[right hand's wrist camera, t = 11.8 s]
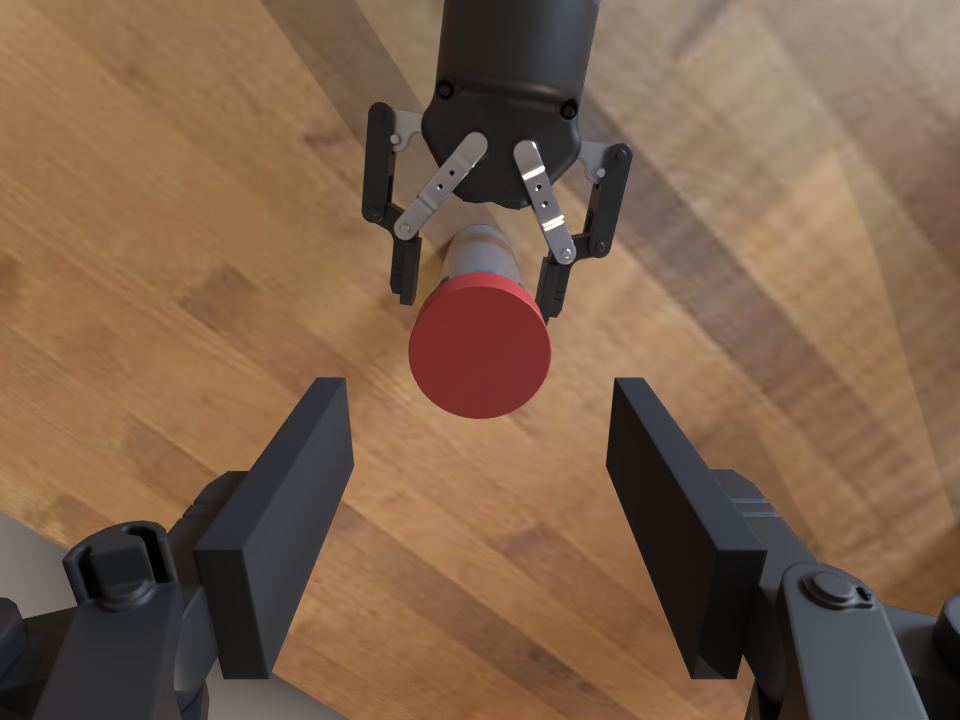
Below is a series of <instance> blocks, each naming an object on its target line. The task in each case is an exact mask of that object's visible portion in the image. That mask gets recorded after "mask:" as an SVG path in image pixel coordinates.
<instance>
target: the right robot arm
mask: <svg viewBox="0 0 960 720" xmlns="http://www.w3.org/2000/svg"><path fill="white" fill-rule="evenodd" d="M353 467H354V459H353V449H352V440H351V430H350V420H349V410H348V400H347V390H346V380H345V378H316V379H315V381H314V382H313V384H312V385H311V386H310V388H309V389H308V390H307V392H306V393H305V395H304V396H303V397H302V399H301V400H300V401H299V403H298V404H297V406H296V407H295V408H294V410H293V411H292V413H291V414H290V415H289V417H288V418H287V419H286V421H285V422H284V424H283V425H282V426H281V428H280V429H279V430H278V432H277V433H276V435H275V436H274V437H273V439H272V440H271V442H270V443H269V444H268V446H267V447H266V448H265V450H264V451H263V453H262V454H261V455H260V457H259V458H258V459H257V461H256V462H255V464H254V465H253V466H252V468H251V469H250V471H228V472H226V473H225V474H223V475H222V476H220V477H219V478H217V479H216V480H214V481H213V482H211V483H210V484H208V485H207V486H206V487H205V488H204V489H203V491H202V492H201V493H200V494H199V496H198V497H197V498H196V499H195V500H194V504H193V505H190V507H189V508H188V509H187V510H186V511H185V513H184V514H183V517H182V519H179V520H178V521H177V522H176V524H175V525H174V526H173V527H172V529H171V530H170V531H169V532H168V533H166V529H165V528H164V527H162V526H161V525H160V524H158V523H156V522H150V521H144V520H143V521H133V522H125V523H121V524H118V525H115V526H111V527H108V528H105V529H103V530H101V531H99V532H97V533H95V534H93V535H91V536H88V537H87V538H85V539H84V540H83V541H81V542H80V543H79V544H77V545H76V546H74V547H73V548H72V549H71V550H70V551H69V553H68V554H67V555H66V556H65V558H64V559H63V560H62V563H63V566H64V569H65V571H66V574H67V577H68V580H69V582H70V585H71V588H72V591H73V593H74V596H75V599H76V602H77V605H78V606H76V607H72V608H69V609H64V610H60V611H56V612H51V613H47V614H43V615H38V616H34V617H30V618H25V619H22V617H21V614H20V612H19V609H18V607H17V605H16V603H14V602H12V601H11V600H10V599H8V598H0V720H207V719H208V708H209V694H208V688H207V684H206V680H205V679H206V677H207V675H208V673H209V671H210V669H211V667H212V665H213V663H214V662H215V659H216V658H217V656H218V658H219V662H220V666H221V670H222V674H223V678H224V679H269V677H270V674H271V672H272V669H273V667H274V664H275V662H276V659H277V657H278V654H279V652H280V649H281V647H282V644H283V642H284V639H285V637H286V634H287V632H288V630H289V627H290V625H291V622H292V620H293V617H294V615H295V612H296V610H297V607H298V605H299V602H300V600H301V597H302V595H303V592H304V590H305V587H306V585H307V582H308V580H309V577H310V575H311V572H312V570H313V567H314V565H315V562H316V560H317V557H318V555H319V552H320V550H321V547H322V545H323V542H324V540H325V537H326V535H327V532H328V530H329V527H330V525H331V522H332V520H333V517H334V515H335V512H336V510H337V507H338V505H339V502H340V500H341V497H342V495H343V492H344V490H345V487H346V485H347V482H348V480H349V477H350V475H351V472H352V470H353ZM606 467H607V470H608V472H609V475H610V477H611V480H612V482H613V485H614V487H615V490H616V492H617V495H618V497H619V500H620V502H621V505H622V507H623V510H624V512H625V515H626V517H627V520H628V522H629V525H630V527H631V530H632V532H633V535H634V537H635V540H636V542H637V545H638V547H639V550H640V552H641V555H642V557H643V560H644V562H645V565H646V567H647V570H648V572H649V575H650V577H651V580H652V582H653V585H654V587H655V590H656V592H657V595H658V597H659V600H660V602H661V605H662V607H663V610H664V612H665V615H666V617H667V620H668V622H669V625H670V627H671V630H672V632H673V634H674V637H675V639H676V642H677V644H678V647H679V649H680V652H681V654H682V657H683V659H684V662H685V664H686V667H687V669H688V672H689V674H690V677H691V679H736V678H737V674H738V670H739V666H740V662H741V658H742V654H743V655H744V657H745V659H746V661H747V663H748V665H749V666H750V668H751V670H752V672H753V674H754V676H755V680H754V684H753V688H752V692H751V695H750V699H749V703H748V707H747V711H746V714H745V718H744V720H960V595H957V596H953V597H951V598H950V599H948V600H947V601H945V602H944V605H943V607H942V609H941V612H940V614H939V617H936V616H932V615H927V614H923V613H919V612H914V611H910V610H906V609H901V608H897V607H893V606H889V605H885V604H882V603H881V602H880V600H879V599H878V597H877V596H876V594H875V593H874V592H873V591H872V590H871V589H870V588H869V587H868V586H866V585H865V584H864V583H863V582H862V581H860V580H859V579H858V578H856V577H854V576H852V575H850V574H848V573H847V572H845V571H843V570H841V569H838V568H835V567H832V566H829V565H826V564H823V563H819V562H818V561H817V560H816V559H815V558H814V556H813V555H812V554H811V553H810V552H809V550H808V549H807V548H806V547H805V545H804V544H803V543H802V542H801V541H800V539H799V538H798V537H797V536H796V535H795V533H794V532H793V531H792V530H791V529H790V527H789V526H788V525H787V524H786V522H785V521H784V520H783V519H782V518H781V517H778V513H777V512H776V510H775V509H774V508H773V507H772V505H771V504H770V503H767V499H766V498H765V497H764V496H763V495H762V493H761V492H760V491H759V490H758V489H757V487H756V486H755V485H754V484H753V483H752V482H750V481H749V480H747V479H746V478H744V477H743V476H741V475H740V474H738V473H737V472H735V471H734V470H710V469H709V468H708V466H707V465H706V464H705V462H704V461H703V459H702V458H701V457H700V455H699V454H698V453H697V451H696V450H695V448H694V447H693V446H692V444H691V443H690V442H689V440H688V439H687V437H686V436H685V435H684V433H683V432H682V430H681V429H680V428H679V426H678V425H677V424H676V422H675V421H674V419H673V418H672V417H671V415H670V414H669V413H668V411H667V410H666V408H665V407H664V406H663V404H662V403H661V401H660V400H659V399H658V397H657V396H656V395H655V393H654V392H653V390H652V389H651V388H650V386H649V385H648V384H647V382H646V381H645V379H644V378H615V380H614V390H613V400H612V410H611V420H610V430H609V439H608V449H607V459H606Z"/></svg>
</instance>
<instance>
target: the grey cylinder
mask: <svg viewBox="0 0 960 720" xmlns="http://www.w3.org/2000/svg"><path fill="white" fill-rule="evenodd" d="M473 272H487V273H494V274H498V275H501V276H504V277H506V278H509V279H511V280H513V281H514V282H516V283H518V284H519V285H520V286H521V287H523V288H524V289H525V290H526V288H525V285H524V282H523V279H522V276H521V273H520V270H519V267H518V264H517V261H516V258H515V255H514V252H513V249H512V247H511V244H510V242H509V240H508V239H507V237H506V236H505V235H504V234H503V233H502V232H501V231H499V230H498V229H496V228H494V227H492V226H488V225H483V224H477V225H472V226H468V227H466V228H464V229H462V230H461V231H459V232H458V233H457V234H456V235H455V236H454V237H453V239H452V240H451V242H450V244H449V247H448V249H447V252H446V255H445V258H444V261H443V264H442V267H441V270H440V273H439V276H438V279H437V282H436V285H435V288H434V290H435V289H436V288H437V287H438V286H440V285H441V284H442V283H444V282H446V281H447V280H449V279H451V278H454V277H456V276H458V275H462V274H466V273H473Z"/></svg>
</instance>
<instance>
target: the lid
mask: <svg viewBox="0 0 960 720" xmlns="http://www.w3.org/2000/svg"><path fill="white" fill-rule="evenodd" d="M550 361H551V342H550V338H549V334H548V331H547V328H546V325H545V323H544V320H543V318H542V315H541V312H540V310H539V308H538V306H537V304H536V302H535V301H534V299H533V298H532V297H531V295H530V294H529V293H528V292H527V291H526V290H525V289H524V288H523V287H521V286H520V285H519V284H518V283H516V282H514V281H513V280H511V279H509V278H506V277H504V276H501V275H498V274H494V273H487V272H473V273H466V274H462V275H458V276H456V277H454V278H451V279H449V280H447V281H446V282H444V283H442V284H441V285H440V286H438V287H437V288H436V289H435V290H434V291H433V292H432V293H431V294H430V295H429V296H428V298H427V299H426V300H425V302H424V304H423V306H422V307H421V310H420V312H419V315H418V317H417V320H416V323H415V325H414V328H413V331H412V333H411V337H410V342H409V362H410V367H411V371H412V373H413V376H414V378H415V380H416V382H417V384H418V386H419V387H420V389H421V390H422V392H423V393H424V394H425V395H426V396H427V397H428V398H429V399H430V400H431V401H432V402H433V403H435V404H436V405H437V406H439V407H440V408H442V409H444V410H446V411H448V412H450V413H452V414H455V415H458V416H461V417H466V418H473V419H487V418H494V417H498V416H502V415H505V414H508V413H510V412H512V411H514V410H516V409H518V408H520V407H521V406H523V405H524V404H525V403H527V402H528V401H529V400H530V399H531V398H532V397H533V396H534V395H535V394H536V393H537V391H538V390H539V389H540V387H541V386H542V384H543V382H544V380H545V378H546V376H547V373H548V370H549V367H550Z"/></svg>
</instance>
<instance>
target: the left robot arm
mask: <svg viewBox="0 0 960 720" xmlns="http://www.w3.org/2000/svg"><path fill="white" fill-rule="evenodd" d="M599 5H600V0H444V9H443V19H442V28H441V37H440V46H439V56H438V65H437V74H436V83H435V91H434V95H433V98H432V101H431V103H430V105H429V107H428V108H427V109H426V111H425V112H424V113H418V112H412V111H406V110H400V109H394V108H393V107H391V106H389V105H387V104H385V103H382V102H377V103H374V104H373V105H372V106H371V107H370V109H369V113H368V127H367V141H366V156H365V170H364V185H363V199H362V215H363V217H364V218H365V219H366V220H367V221H368V222H371V223H376V224H378V225H380V226H381V227H383V228H385V229H387V230H388V231H389V232H390V233H391V235H392V237H393V240H394V246H393V256H392V268H391V278H390V286H391V289H392V293H396V294H400V304H403V305H410V306H412V305H413V302H414V300H415V296H416V288H417V279H418V270H419V261H420V252H421V243H422V238H421V237H418V236H419V229H420V228H421V227H422V226H423V225H424V223H425V222H426V221H427V220H428V219H429V218H430V216H431V215H432V214H433V213H434V212H435V211H436V210H437V208H438V207H439V206H440V205H441V204H442V203H443V201H444V200H445V199H446V198H447V197H448V196H449V194H450V193H451V192H453V193H454V194H455V195H456V196H457V197H459V198H461V199H463V201H465V202H472V203H484V202H494V203H496V204H498V205H501V206H503V207H505V208H510V209H516V210H520V208H525V207H527V206H530V205H531V207H532V210H533V212H534V214H535V217H536V219H537V221H538V223H539V225H540V228H541V230H542V233H543V235H544V237H545V240H546V242H547V244H548V247H549V252H548V257H543V262H542V267H541V272H540V278H539V283H538V288H537V293H536V298H535V302H536V304H537V306H538V308H539V310H540V312H541V315H542V318H543V320H544V323H545V325H546V326H547V324H548V321H549V317H555V318H557V316H558V315H559V313H560V312H561V310H562V306H563V300H564V297H565V292H566V287H567V283H568V278H569V273H570V269H571V267H572V266H573V264H574V263H575V262H577V261H579V260H582V259H587V258H592V257H595V258H603V257H605V256H606V255H607V254H608V253H609V251H610V248H611V244H612V240H613V236H614V232H615V227H616V223H617V219H618V215H619V211H620V206H621V202H622V198H623V194H624V190H625V185H626V181H627V177H628V173H629V169H630V164H631V160H632V150H631V148H630V147H629V146H628V145H627V144H624V143H612V144H605V143H599V142H592V141H586V140H581V137H580V134H579V130H578V122H577V118H578V110H579V105H580V100H581V95H582V90H583V85H584V80H585V75H586V70H587V65H588V60H589V55H590V50H591V45H592V40H593V35H594V30H595V25H596V20H597V15H598V10H599ZM416 133H422V135H423V138H424V140H425V142H426V143H427V145H428V147H429V149H430V151H431V153H432V155H433V157H434V159H435V161H436V163H437V165H438V167H439V170H438V171H437V173H436V174H435V175H434V176H433V177H432V179H431V180H430V181H429V182H428V183H427V185H426V186H425V187H424V188H423V189H422V191H421V192H420V193H419V194H418V196H417V197H416V198H415V199H414V201H413V202H412V203H411V204H410V205H409V207H408V208H407V209H406V210H404V209H402V208H400V207H398V206H397V205H395V204H393V203H392V192H393V181H394V170H395V159H396V152H402V151H404V150H406V149H407V148H408V146H409V144H410V140H411V138H412V137H413V135H415V134H416ZM577 158H578V159H580V160H581V161H582V162H583V164H584V175H585V178H586V179H587V181H589V182H591V183H593V187H592V192H591V197H590V201H589V206H588V210H587V215H586V220H585V224H584V229H583V233H581V234H576V235H571V236H570V234H569V231H568V229H567V226H566V224H565V221H564V217H563V214H562V211H561V209H560V206H559V204H558V201H557V199H556V196H555V194H554V191H553V189H552V186H551V185H552V184H553V183H554V182H555V181H556V180H557V179H558V178H559V177H560V176H561V175H562V174H563V173H564V172H565V171H566V170H567V169H568V168H569V167H570V166H571V165H572V164H573V163H574V162H575V161H576V160H577Z"/></svg>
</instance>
